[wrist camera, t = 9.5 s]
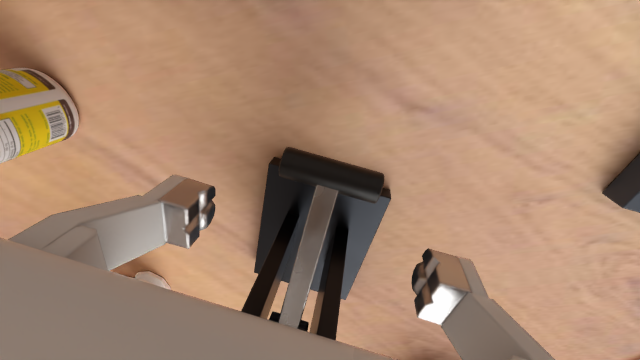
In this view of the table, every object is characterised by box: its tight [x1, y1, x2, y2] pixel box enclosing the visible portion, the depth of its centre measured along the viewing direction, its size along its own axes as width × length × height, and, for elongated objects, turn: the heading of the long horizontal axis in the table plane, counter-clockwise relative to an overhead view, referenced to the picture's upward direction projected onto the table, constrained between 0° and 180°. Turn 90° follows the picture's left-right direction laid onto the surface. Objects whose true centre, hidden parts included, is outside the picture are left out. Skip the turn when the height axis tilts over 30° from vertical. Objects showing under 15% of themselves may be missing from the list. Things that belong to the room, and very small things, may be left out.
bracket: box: [241, 157, 391, 340], centre depth 18 cm, size 12×9×12 cm
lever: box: [269, 147, 384, 332], centre depth 14 cm, size 12×5×2 cm, turn 167°
